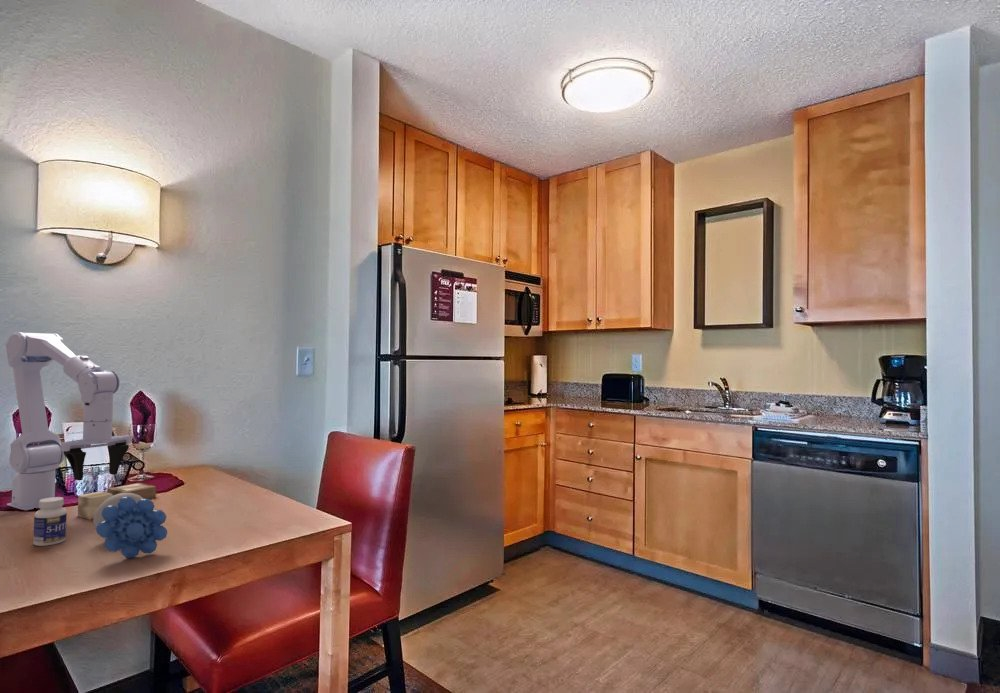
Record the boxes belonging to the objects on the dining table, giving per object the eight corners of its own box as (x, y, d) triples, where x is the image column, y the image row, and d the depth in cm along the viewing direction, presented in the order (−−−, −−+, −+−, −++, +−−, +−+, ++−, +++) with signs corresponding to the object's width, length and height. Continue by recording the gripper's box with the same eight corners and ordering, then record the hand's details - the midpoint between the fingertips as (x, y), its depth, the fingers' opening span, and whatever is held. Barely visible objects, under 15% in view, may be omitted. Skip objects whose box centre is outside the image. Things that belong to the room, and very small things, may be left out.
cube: (77, 516, 134) (78, 495, 134) (100, 511, 138) (101, 491, 138) (89, 519, 131) (89, 498, 131) (111, 514, 136) (112, 493, 136)
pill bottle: (47, 547, 112) (48, 503, 112) (26, 545, 113) (27, 501, 113) (72, 539, 117) (73, 497, 118) (52, 537, 118) (53, 495, 119)
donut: (93, 547, 113) (95, 498, 113) (90, 543, 115) (92, 495, 115) (150, 537, 120) (152, 490, 120) (146, 533, 122) (147, 487, 122)
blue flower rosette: (96, 571, 101) (98, 505, 101) (94, 560, 106) (96, 497, 106) (170, 558, 108) (172, 496, 108) (164, 548, 113) (166, 489, 113)
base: (107, 499, 148) (107, 488, 148) (138, 493, 155) (138, 482, 155) (124, 504, 144) (125, 492, 144) (155, 497, 152) (156, 486, 152)
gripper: (72, 425, 127) (70, 484, 126) (138, 419, 140) (137, 473, 139) (56, 422, 130) (54, 481, 130) (122, 417, 143) (120, 470, 143)
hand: (96, 476), depth 135 cm, fingers open, 7 cm apart
